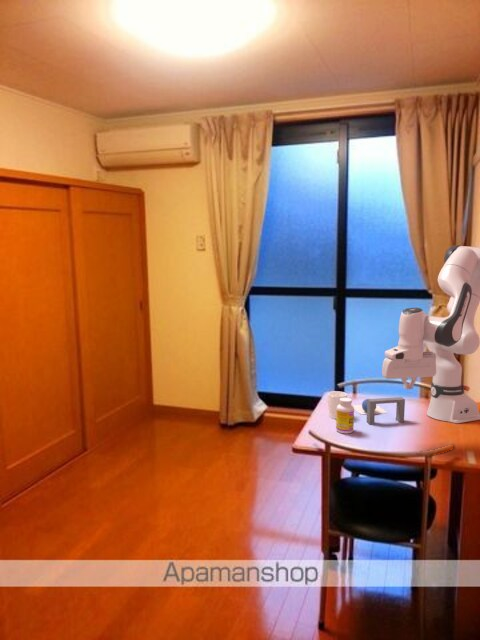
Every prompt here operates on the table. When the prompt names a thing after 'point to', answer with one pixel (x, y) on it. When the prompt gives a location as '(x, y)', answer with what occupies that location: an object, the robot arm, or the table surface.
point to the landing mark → (362, 412)
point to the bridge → (371, 403)
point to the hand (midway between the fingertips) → (408, 388)
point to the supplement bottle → (345, 416)
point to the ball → (365, 405)
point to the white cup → (334, 402)
